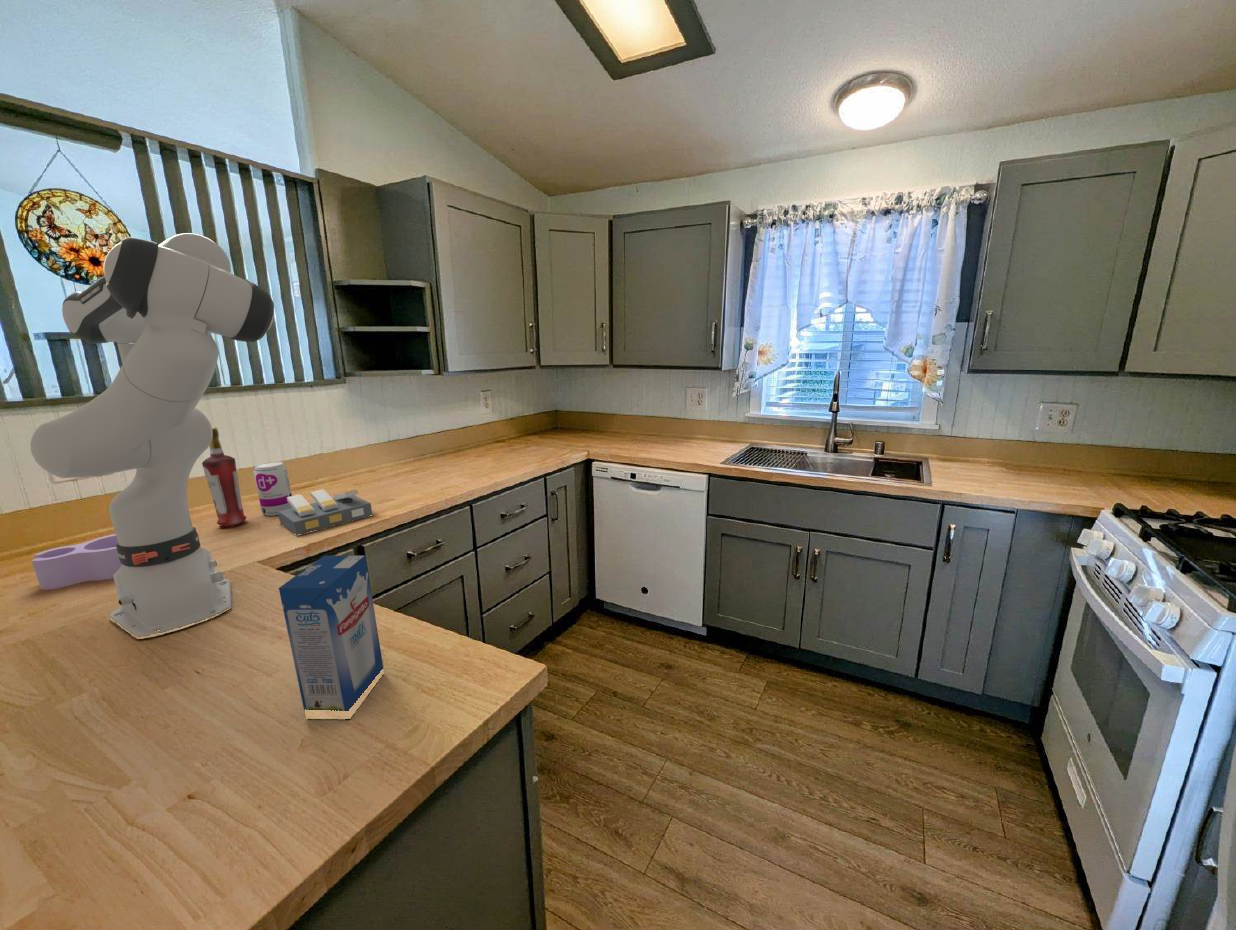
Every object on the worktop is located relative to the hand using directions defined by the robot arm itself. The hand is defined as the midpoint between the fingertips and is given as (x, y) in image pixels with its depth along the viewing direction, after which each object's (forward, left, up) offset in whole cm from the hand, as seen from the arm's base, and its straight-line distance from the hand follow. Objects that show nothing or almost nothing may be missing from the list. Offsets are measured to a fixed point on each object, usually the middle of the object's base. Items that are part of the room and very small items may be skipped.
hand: (161, 416), depth 120 cm
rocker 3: (-3, -36, -28) cm, 46 cm away
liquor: (+15, -11, -34) cm, 39 cm away
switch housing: (-3, -30, -34) cm, 45 cm away
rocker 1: (-3, -24, -28) cm, 37 cm away
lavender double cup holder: (+1, +16, -34) cm, 38 cm away
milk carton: (-87, -4, -34) cm, 94 cm away
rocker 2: (-3, -30, -28) cm, 41 cm away
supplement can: (+17, -23, -34) cm, 45 cm away
